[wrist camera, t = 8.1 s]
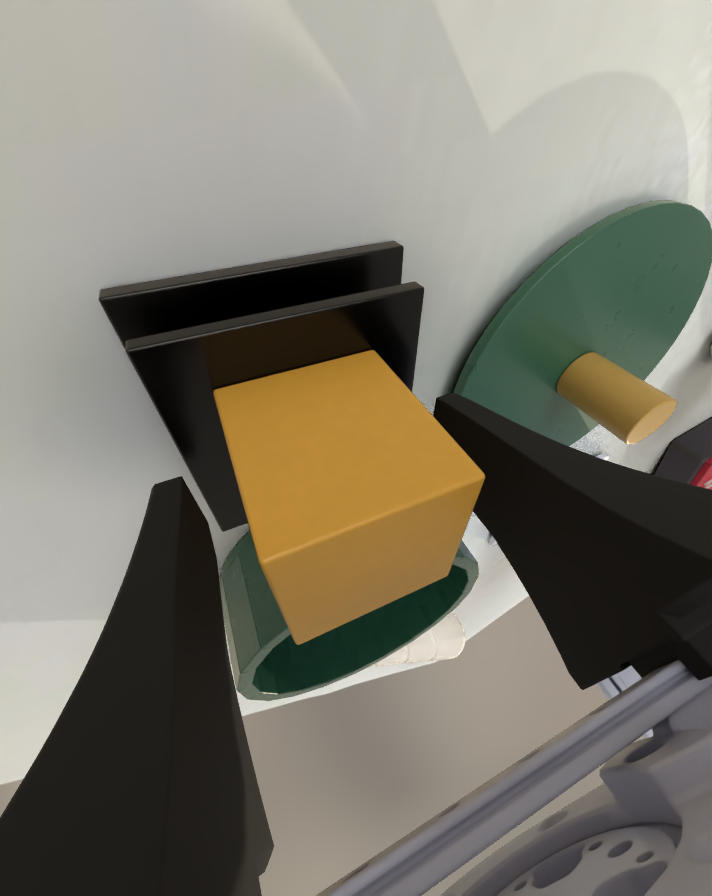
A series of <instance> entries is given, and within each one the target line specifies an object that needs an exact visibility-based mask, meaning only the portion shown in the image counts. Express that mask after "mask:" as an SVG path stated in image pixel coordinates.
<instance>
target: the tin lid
mask: <svg viewBox="0 0 712 896" xmlns="http://www.w3.org/2000/svg"><path fill="white" fill-rule="evenodd" d="M711 263H712V229H711V226H710V223H709V221H708V219H707V218H706V217H705V215H704V214H703V213H702V212H701V211H700V210H698V209H696V208H695V207H693V206H692V205H688V204H684V203H679V202H674V201H670V200H661V201H649V202H646V203H642V204H638V205H634V206H631V207H628V208H626V209H624V210H621V211H619V212H617V213H614V214H612V215H610V216H608V217H606V218H605V219H603V220H601V221H599V222H598V223H596V224H594V225H592V226H591V227H589V228H587V229H586V230H584V231H583V232H582V233H580V234H579V235H577V236H576V237H575V238H573V239H572V240H571V241H569V242H568V243H566V244H565V245H564V246H563V247H561V248H560V249H559V250H558V251H557V252H556V253H554V254H553V255H552V256H551V257H550V258H549V259H547V260H546V261H545V262H544V263H543V264H542V265H541V266H540V267H539V268H538V269H537V270H536V271H535V272H534V273H533V274H532V275H531V276H530V277H529V278H528V279H527V280H526V281H525V282H524V283H523V284H522V285H521V286H520V287H519V288H518V289H517V290H516V291H515V293H514V294H513V295H512V296H511V297H510V298H509V300H508V301H507V302H506V303H505V304H504V305H503V307H502V308H501V309H500V311H499V312H498V313H497V315H496V316H495V317H494V319H493V320H492V321H491V323H490V324H489V325H488V327H487V328H486V330H485V331H484V333H483V334H482V336H481V338H480V339H479V341H478V342H477V344H476V346H475V347H474V349H473V350H472V352H471V354H470V356H469V358H468V360H467V362H466V364H465V366H464V368H463V370H462V372H461V374H460V377H459V379H458V382H457V384H456V387H455V389H454V392H453V393H456V394H459V395H461V396H463V397H465V398H467V399H469V400H471V401H474V402H476V403H478V404H480V405H482V406H484V407H486V408H488V409H489V410H491V411H493V412H495V413H497V414H499V415H501V416H503V417H505V418H507V419H509V420H511V421H514V422H516V423H518V424H520V425H522V426H524V427H526V428H528V429H530V430H532V431H534V432H537V433H539V434H541V435H543V436H545V437H548V438H550V439H552V440H555V441H557V442H559V443H562V444H564V445H566V446H570V445H571V444H573V443H574V442H576V441H577V440H579V439H580V438H581V437H583V436H584V435H585V434H587V433H588V432H590V431H591V430H592V429H593V428H595V427H596V426H597V425H598V424H600V425H602V426H603V427H604V428H606V429H607V430H608V431H610V432H611V433H612V434H614V435H615V436H616V437H618V438H619V439H621V440H622V441H623V442H625V443H626V444H634V443H637V442H639V441H641V440H643V439H644V438H646V437H647V436H649V435H650V434H652V433H653V432H654V431H655V430H657V429H658V428H659V427H660V426H661V425H662V424H663V423H664V422H665V421H666V420H667V419H668V418H669V417H670V415H671V414H672V413H673V411H674V409H675V407H676V404H677V402H676V400H675V399H673V398H671V397H670V396H668V395H666V394H665V393H663V392H661V391H660V390H658V389H656V388H655V387H653V386H651V385H650V384H648V383H646V382H645V381H644V380H645V379H646V377H647V376H648V375H649V374H650V373H651V372H652V371H653V369H654V368H655V367H656V366H657V364H658V363H659V362H660V361H661V359H662V358H663V357H664V355H665V354H666V353H667V351H668V350H669V348H670V347H671V346H672V344H673V343H674V342H675V340H676V338H677V337H678V335H679V334H680V332H681V331H682V329H683V328H684V326H685V324H686V323H687V321H688V319H689V317H690V315H691V314H692V312H693V310H694V308H695V306H696V304H697V302H698V300H699V298H700V295H701V293H702V291H703V288H704V285H705V283H706V280H707V278H708V274H709V270H710V266H711Z"/></svg>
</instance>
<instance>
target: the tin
mask: <svg viewBox="0 0 712 896" xmlns="http://www.w3.org/2000/svg"><path fill="white" fill-rule="evenodd" d="M478 576H479V569H478V562H477V561H476V560H475V558H474V557H473V555H472V554H471V553H470V551H469V550H468V548H467V547H466V546H465V544H464V543H463V541H462V540H461V542H460V545H459V548H458V550H457V553H456V555H455V558H454V561H453V563H452V566H451V569H450V571H449V574H448V575H447V576H446V577H444V578H442V579H440V580H438V581H436V582H433V583H431V584H429V585H427V586H425V587H423V588H421V589H418V590H416V591H414V592H412V593H410V594H408V595H405V596H403V597H401V598H399V599H397V600H395V601H393V602H390V603H388V604H386V605H384V606H382V607H380V608H378V609H375V610H373V611H371V612H369V613H367V614H365V615H362V616H360V617H358V618H356V619H354V620H352V621H350V622H347V623H345V624H343V625H341V626H339V627H337V628H334V629H332V630H330V631H328V632H326V633H324V634H322V635H319V636H317V637H315V638H313V639H311V640H309V641H307V642H304V643H302V644H300V645H297V644H296V643H295V642H294V639H293V637H292V635H291V633H290V631H289V628H288V626H287V624H286V622H285V619H284V617H283V615H282V613H281V611H280V608H279V606H278V604H277V602H276V599H275V597H274V595H273V593H272V591H271V588H270V586H269V584H268V582H267V579H266V577H265V575H264V573H263V571H262V568H261V566H260V564H259V561H258V557H257V554H256V550H255V546H254V543H253V539H252V535H251V531H249V532H248V533H247V534H246V535H245V536H244V537H243V538H242V539H241V540H240V541H239V542H238V544H237V545H236V546H235V548H234V549H233V550H232V552H231V553H230V554H229V556H228V558H227V560H226V562H225V563H224V566H223V569H222V572H221V575H220V590H221V600H222V609H223V617H224V622H225V628H226V633H227V639H228V645H229V650H230V656H231V662H232V667H233V673H234V678H235V684H236V689H237V691H238V692H239V693H241V694H242V695H243V696H244V697H245V698H247V699H249V700H265V701H271V700H276V699H282V698H287V697H293V696H295V695H300V694H303V693H306V692H309V691H312V690H315V689H318V688H321V687H324V686H327V685H329V684H332V683H334V682H336V681H339V680H341V679H344V678H346V677H348V676H351V675H353V674H355V673H357V672H359V671H361V670H363V669H365V668H367V667H369V666H371V665H373V664H375V663H377V662H379V661H381V660H383V659H384V658H386V657H388V656H389V655H391V654H393V653H394V652H396V651H398V650H399V649H401V648H403V647H404V646H406V645H408V644H409V643H411V642H412V641H414V640H415V639H417V638H418V637H419V636H421V635H422V634H424V633H425V632H427V631H428V630H429V629H431V628H432V627H434V626H435V625H436V624H438V623H439V622H440V621H441V620H442V619H443V618H445V617H446V616H447V615H448V614H449V613H450V612H452V611H453V610H454V609H455V608H456V607H457V606H458V605H459V604H460V603H461V602H462V600H463V599H464V598H465V597H466V596H467V595H468V594H469V593H470V591H471V589H472V588H473V586H474V584H475V582H476V580H477V578H478Z"/></svg>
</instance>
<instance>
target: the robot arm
mask: <svg viewBox="0 0 712 896" xmlns="http://www.w3.org/2000/svg"><path fill="white" fill-rule="evenodd" d="M433 417H434V418H435V419H436V420H437V421H438V422H439V423H440V425H441V426H442V427H443V428H444V429H445V430H446V431H447V432H448V434H449V435H450V436H451V437H452V438H453V439H454V440H455V441H456V443H457V444H458V445H459V446H460V447H461V448H462V449H463V450H464V451H465V453H466V454H467V455H468V456H469V457H470V458H471V459H472V460H473V462H474V463H475V464H476V465H477V466H478V467H479V468H480V469H481V471H482V472H483V473H484V475H485V479H484V482H483V485H482V487H481V490H480V493H479V495H478V498H477V500H476V503H475V506H474V508H473V512H474V513H475V514H476V515H477V517H478V518H479V519H480V520H481V522H482V523H483V524H484V525H485V527H486V528H487V529H488V531H489V532H490V534H491V535H492V536H491V538H490V540H489V544H490V545H491V546H495V545H497V544H498V545H499V547H500V548H501V550H502V551H503V553H504V554H505V556H506V558H507V559H508V561H509V562H510V564H511V565H512V567H513V569H514V570H515V572H516V574H517V575H518V577H519V579H520V581H521V582H522V584H523V586H524V587H525V589H526V591H527V592H528V594H529V596H530V598H531V599H532V601H533V603H534V605H535V607H536V609H537V610H538V612H539V614H540V616H541V618H542V619H543V621H544V623H545V625H546V627H547V629H548V631H549V633H550V635H551V637H552V638H553V641H554V643H555V645H556V647H557V649H558V651H559V653H560V654H561V657H562V659H563V661H564V663H565V665H566V668H567V670H568V672H569V674H570V675H571V676H572V678H573V679H574V680H575V681H576V683H577V684H578V686H579V687H580V688H581V689H582V690H584V689H586V688H588V687H590V686H592V685H594V684H597V686H598V687H599V689H600V690H601V691H602V693H603V694H604V695H605V697H606V698H607V699H608V701H607V702H606V703H604V704H603V705H601V706H600V707H598V708H597V709H595V710H594V711H592V712H591V713H589V714H588V715H586V716H585V717H583V718H582V719H580V720H579V721H577V722H576V723H574V724H573V725H571V726H570V727H568V728H567V729H565V730H564V731H562V732H561V733H559V734H558V735H556V736H555V737H553V738H552V739H551V740H549V741H547V742H546V743H544V744H543V745H541V746H540V747H538V748H537V749H535V750H534V751H532V752H531V753H529V754H528V755H526V756H525V757H523V758H522V759H520V760H519V761H517V762H516V763H514V764H513V765H511V766H510V767H508V768H507V769H505V770H504V771H502V772H501V773H499V774H498V775H496V776H495V777H493V778H492V779H490V780H489V781H487V782H486V783H484V784H483V785H481V786H480V787H478V788H477V789H475V790H474V791H472V792H471V793H469V794H468V795H466V796H465V797H463V798H462V799H460V800H459V801H457V802H456V803H454V804H453V805H451V806H450V807H448V808H447V809H445V810H444V811H442V812H441V813H439V814H437V815H436V816H434V817H433V818H432V819H430V820H428V821H427V822H425V823H424V824H423V825H421V826H420V827H418V828H416V829H415V830H413V831H412V832H410V833H409V834H407V835H406V836H404V837H403V838H402V839H400V840H398V841H397V842H395V843H394V844H393V845H391V846H389V847H388V848H386V849H385V850H384V851H382V852H380V853H379V854H377V855H376V856H374V857H373V858H371V859H370V860H368V861H367V862H365V863H364V864H362V865H361V866H359V867H358V868H356V869H355V870H353V871H352V872H351V873H349V874H347V875H346V876H344V877H343V878H341V879H340V880H338V881H337V882H335V883H334V884H332V885H331V886H329V887H328V888H326V889H325V890H324V891H322V892H320V893H319V894H317V895H316V896H421V895H423V894H424V893H425V892H427V891H428V890H430V889H431V888H432V887H434V886H435V885H436V884H438V883H439V882H440V881H442V880H443V879H445V878H446V877H447V876H449V875H450V874H452V873H453V872H454V871H456V870H457V869H458V868H460V867H461V866H462V865H464V864H465V863H467V862H468V861H469V860H471V859H472V858H474V857H475V856H476V855H478V854H479V853H481V852H482V851H483V850H485V849H486V848H487V847H489V846H490V845H492V844H493V843H494V842H496V841H497V840H499V839H500V838H501V837H503V836H504V835H505V834H507V833H508V832H510V831H511V830H512V829H514V828H515V827H516V826H518V825H519V824H521V823H522V822H523V821H525V820H526V819H527V818H529V817H530V816H532V815H533V814H534V813H536V812H537V811H538V810H540V809H541V808H543V807H544V806H545V805H547V804H548V803H550V802H551V801H552V800H554V799H555V798H556V797H558V796H559V795H561V794H562V793H563V792H565V791H566V790H567V789H569V788H570V787H572V786H573V785H574V784H576V783H577V782H578V781H580V780H581V779H583V778H584V777H585V776H587V775H588V774H589V773H591V772H592V771H594V770H595V769H596V768H598V767H599V766H601V765H602V764H603V763H605V762H606V761H607V760H608V761H607V762H606V763H605V764H604V766H603V767H602V768H601V769H600V777H601V779H602V780H603V781H604V783H603V784H602V785H600V786H598V787H597V788H595V789H593V790H592V791H590V792H589V793H587V794H585V795H584V796H582V797H580V798H579V799H577V800H575V801H574V802H572V803H571V804H569V805H567V806H566V807H564V808H562V809H561V810H559V811H557V812H556V813H554V814H553V815H551V816H549V817H548V818H546V819H544V820H543V821H541V822H539V823H538V824H536V825H535V826H533V827H531V828H530V829H528V830H527V831H525V832H523V833H522V834H520V835H519V836H517V837H516V838H514V839H513V840H511V841H510V842H508V843H507V844H505V845H504V846H502V847H501V848H500V849H498V850H497V851H495V852H494V853H492V854H491V855H490V856H488V857H487V858H486V859H484V860H483V861H482V862H480V863H479V864H478V865H476V866H475V867H474V868H472V869H471V870H470V871H469V872H467V873H466V874H465V875H464V876H462V877H461V878H460V879H459V880H458V881H456V883H454V884H453V885H452V886H451V887H449V888H448V889H447V890H446V891H445V892H444V893H442V894H441V895H440V896H712V489H707V488H703V487H699V486H694V485H690V484H686V483H682V482H677V481H674V480H670V479H666V478H662V477H658V476H655V475H651V474H648V473H644V472H641V471H638V470H634V469H631V468H628V467H624V466H621V465H618V464H615V463H612V462H609V461H607V460H608V459H609V458H610V455H609V454H608V453H606V452H605V453H602V454H599V455H597V456H592V455H590V454H587V453H584V452H581V451H579V450H576V449H574V448H571V447H569V446H566V445H564V444H562V443H559V442H557V441H555V440H552V439H550V438H548V437H545V436H543V435H541V434H539V433H537V432H534V431H532V430H530V429H528V428H526V427H524V426H522V425H520V424H518V423H516V422H514V421H511V420H509V419H507V418H505V417H503V416H501V415H499V414H497V413H495V412H493V411H491V410H489V409H488V408H486V407H484V406H482V405H480V404H478V403H476V402H474V401H471V400H469V399H467V398H465V397H463V396H461V395H459V394H456V393H451V394H448V395H444V396H441V397H438V398H436V404H435V409H434V415H433ZM641 736H643V737H644V738H645V739H642V740H639V741H637V742H634V741H635V740H636V739H638V738H639V737H641ZM632 742H633V743H632ZM273 847H274V844H273V840H272V837H271V833H270V829H269V825H268V822H267V818H266V814H265V810H264V806H263V802H262V799H261V795H260V791H259V787H258V783H257V779H256V775H255V771H254V767H253V763H252V759H251V754H250V751H249V746H248V742H247V738H246V734H245V729H244V725H243V721H242V716H241V712H240V707H239V703H238V699H237V694H236V689H235V685H234V680H233V676H232V671H231V666H230V662H229V656H228V650H227V643H226V635H225V626H224V617H223V609H222V600H221V591H220V582H219V574H218V566H217V558H216V554H215V549H214V545H213V541H212V537H211V533H210V529H209V525H208V522H207V520H206V518H205V516H204V515H203V513H202V511H201V509H200V508H199V506H198V504H197V502H196V501H195V499H194V497H193V495H192V494H191V492H190V490H189V488H188V487H187V485H186V483H185V481H184V480H183V478H182V476H181V477H177V478H174V479H171V480H168V481H164V482H161V483H158V484H155V485H154V487H153V488H152V490H151V495H150V499H149V502H148V506H147V510H146V514H145V517H144V521H143V524H142V527H141V530H140V534H139V537H138V540H137V543H136V546H135V549H134V552H133V555H132V558H131V561H130V563H129V566H128V569H127V572H126V575H125V577H124V580H123V583H122V585H121V588H120V590H119V593H118V595H117V597H116V600H115V602H114V605H113V607H112V610H111V612H110V615H109V617H108V620H107V622H106V624H105V626H104V629H103V631H102V633H101V635H100V638H99V640H98V642H97V644H96V646H95V648H94V650H93V653H92V655H91V657H90V659H89V661H88V663H87V665H86V667H85V669H84V671H83V673H82V675H81V677H80V679H79V681H78V683H77V685H76V687H75V688H74V690H73V692H72V694H71V696H70V698H69V700H68V702H67V703H66V705H65V707H64V709H63V711H62V713H61V715H60V717H59V718H58V720H57V722H56V724H55V726H54V728H53V729H52V731H51V733H50V735H49V737H48V738H47V740H46V742H45V744H44V745H43V747H42V749H41V751H40V752H39V754H38V756H37V758H36V759H35V761H34V763H33V764H32V766H31V768H30V769H29V771H28V773H27V774H26V776H25V777H24V779H23V781H22V783H21V784H20V786H19V787H18V789H17V791H16V792H15V794H14V796H13V797H12V799H11V801H10V802H9V804H8V806H7V807H6V809H5V810H4V812H3V814H2V815H1V817H0V896H262V895H261V889H260V884H259V876H260V875H261V874H262V873H264V872H265V869H266V867H267V865H268V862H269V859H270V857H271V854H272V851H273Z"/></svg>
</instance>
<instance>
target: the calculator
mask: <svg viewBox="0 0 712 896" xmlns="http://www.w3.org/2000/svg"><path fill="white" fill-rule="evenodd" d="M654 475H655V476H658V477H662V478H666V479H670V480H674V481H677V482H682V483H686V484H690V485H694V486H699V487H703V488H707V489H712V418H710V419H708V420H707V421H705V422H703V423H702V424H700V425H698V426H697V427H695V428H693V429H692V430H690V431H688V432H686V433H685V434H683V435H681V436H680V437H678V438H676V439H675V440H673V441H672V442H671V444H670V446H669V448H668V450H667V452H666V453H665V455H664V457H663V459H662V461H661V463H660V465H659V467H658V469H657V470H656V472H655V474H654Z"/></svg>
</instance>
